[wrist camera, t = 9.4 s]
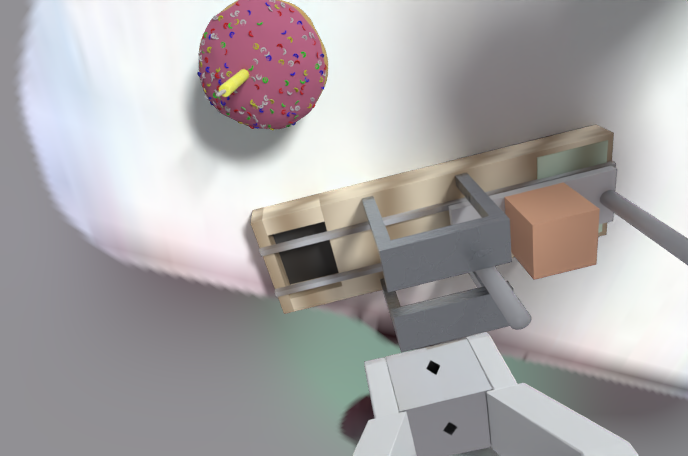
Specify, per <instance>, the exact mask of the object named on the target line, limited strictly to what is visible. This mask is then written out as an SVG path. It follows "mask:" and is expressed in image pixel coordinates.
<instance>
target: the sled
mask: <svg viewBox="0 0 688 456" xmlns="http://www.w3.org/2000/svg"><path fill="white" fill-rule="evenodd" d="M616 176H617V169H616V168H614V167H613V166H608V167H603V168H599V169H595V170H591V171H587V172H583V173H579V174H575V175H571V176H567V177H563V178H559V179H555V180H551V181H547V182H543V183H539V184H535V185H531V186H527V187H523V188H519V189H515V190H511V191H507V192H503V193H499V194H495V195H491V196H489V197H490V198H491V199H492V200H493V201H494V202H495V204H496V205H497V206H498V207H499V208H500V209H501V210H502V211H503V212H504V213H505V214H506V215H507V216H508V218H509V219H510V235H511V253H512V254H513V255H514V256H515V257H516V259H517V260H518V261H519V262H520V264H521V265H522V266H523V267H524V268H525V270H526V271H527V272H528V273H529V275H530V276H531V277H532V278H533V279H534V280H535V279H539V278H543V277H547V276H551V275H555V274H559V273H563V272H567V271H571V270H575V269H580V268H584V267H588V266H592V265H596V261H597V245H598V228H599V224H603V223H607V222H611V221H613V214H614V213H615V214H617V215H618V216H619V217H621V218H622V219H624V220H625V221H626V222H628V223H629V224H631V225H632V226H633V227H635V228H636V229H638V230H639V231H640V232H642V233H643V234H645V235H646V236H647V237H649V238H650V239H652V240H653V241H654V242H656V243H657V244H659V245H660V246H661V247H663V248H664V249H666V250H667V251H668V252H670V253H671V254H673V255H674V256H676V257H677V258H678V259H680V260H681V261H683V262H684V263H685V264H687V265H688V238H686V237H685V236H683V235H681V234H680V233H678V232H677V231H675V230H674V229H672V228H671V227H669V226H668V225H666V224H664V223H663V222H661V221H660V220H658V219H657V218H655V217H654V216H652V215H651V214H649V213H647V212H646V211H644V210H643V209H641V208H640V207H638V206H637V205H635V204H633V203H632V202H630V201H629V200H627V199H626V198H624V197H623V196H621V195H620V194H618V193H616V192H615V189H616ZM448 207H449V215H450V224H451V225H454V224H458V223H462V222H466V221H470V220H474V219H479V218H482V217H481V216H480V215H479V214H478V212H477V211H476V210H475V209H474V207H473V206H472V205H471V204H470V202H469V201H467V202H463V203H458V204H454V205H450V206H448ZM475 272H476V273H477V275H478V276H479V278H480V279H481V281H482V283H483V284H484V286H485V287H486V289H487V290H488V292H489V294H490V295H491V297H492V298H493V300H494V301H495V303H496V304H497V306H498V308H499V309H500V311H501V312H502V314H503V315H504V317H505V318H506V320H507V322H508V323H509V325H510V326H511V327H512V328H513V329H523V328H525V327H526V326H528V325H529V323H530V322H531V316H530V314H529V313H528V311H527V310H526V309H525V307H524V306H523V305H522V303H521V302H520V300H519V299H518V298H517V296H516V295H515V293H514V292H513V291H512V289H511V288H510V286H509V285H508V284H507V282H506V281H505V280H504V278H503V277H502V275H501V274H500V273H499V271H498V270H497V268H496V267H495V266H493V267H489V268H485V269H481V270H477V271H475Z"/></svg>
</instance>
